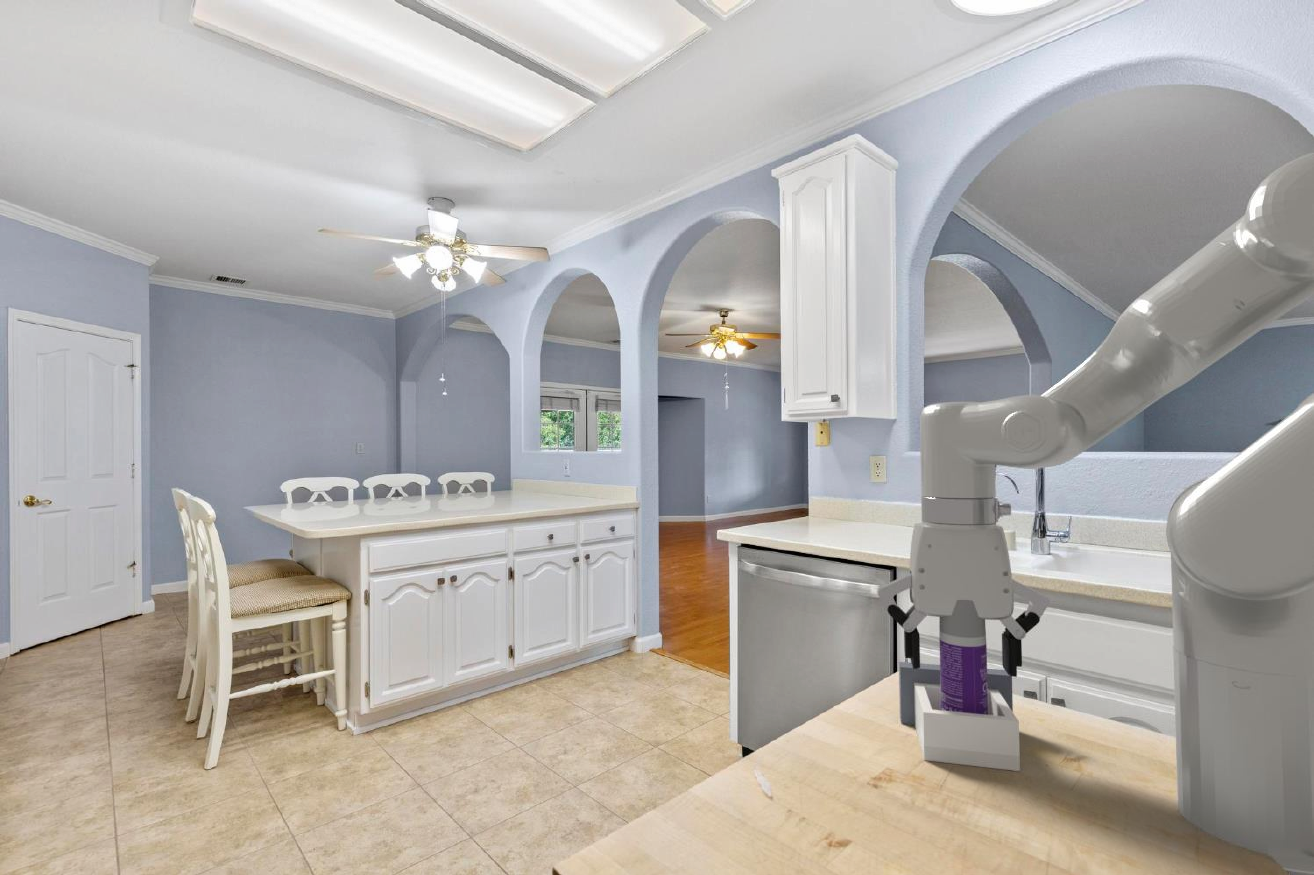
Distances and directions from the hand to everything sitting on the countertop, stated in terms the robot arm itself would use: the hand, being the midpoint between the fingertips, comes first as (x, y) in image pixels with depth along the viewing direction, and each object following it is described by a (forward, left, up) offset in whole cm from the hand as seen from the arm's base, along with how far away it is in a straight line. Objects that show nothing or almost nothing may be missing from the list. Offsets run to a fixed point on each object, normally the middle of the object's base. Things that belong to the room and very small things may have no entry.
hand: (961, 668), depth 70 cm
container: (0, 0, -7) cm, 7 cm away
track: (0, +3, -10) cm, 10 cm away
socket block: (0, 0, -8) cm, 8 cm away
